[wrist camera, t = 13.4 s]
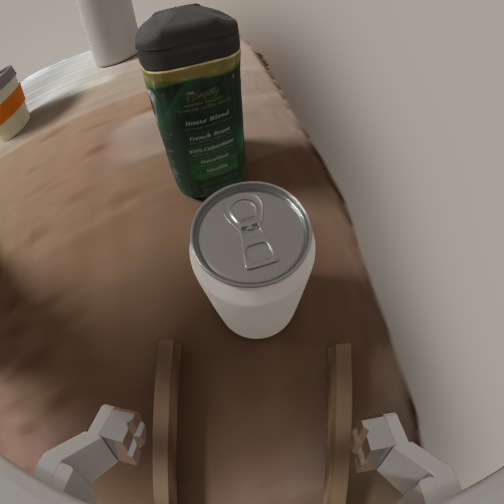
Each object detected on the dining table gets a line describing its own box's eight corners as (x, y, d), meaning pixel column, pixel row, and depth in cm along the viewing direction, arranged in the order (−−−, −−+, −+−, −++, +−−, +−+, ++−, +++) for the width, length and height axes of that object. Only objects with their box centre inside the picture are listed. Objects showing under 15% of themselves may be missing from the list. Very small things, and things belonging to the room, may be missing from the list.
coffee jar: (256, 187, 29) (253, 10, 13) (183, 210, 28) (126, 37, 11) (229, 134, 33) (216, -6, 17) (168, 152, 32) (129, 14, 16)
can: (280, 258, 25) (291, 163, 14) (306, 325, 22) (344, 270, 12) (210, 278, 25) (171, 194, 14) (230, 349, 22) (196, 316, 11)
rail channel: (332, 531, 13) (339, 543, 11) (165, 526, 14) (156, 537, 12) (341, 347, 22) (351, 342, 19) (168, 343, 22) (158, 338, 20)
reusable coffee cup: (25, 109, 45) (3, 67, 32) (44, 110, 43) (19, 60, 29) (-8, 144, 40) (-35, 103, 27) (5, 150, 38) (-27, 102, 24)
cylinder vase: (110, 70, 47) (85, -18, 25) (89, 66, 51) (65, -8, 29) (152, 47, 52) (135, -35, 29) (126, 45, 55) (109, -26, 33)
